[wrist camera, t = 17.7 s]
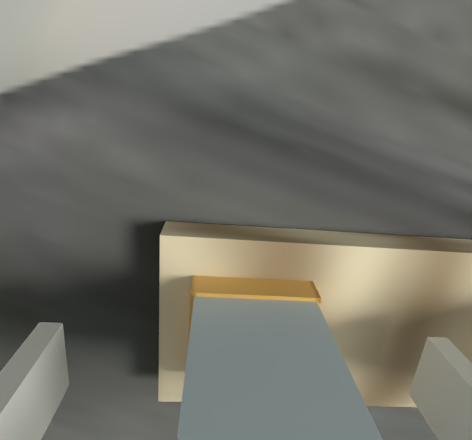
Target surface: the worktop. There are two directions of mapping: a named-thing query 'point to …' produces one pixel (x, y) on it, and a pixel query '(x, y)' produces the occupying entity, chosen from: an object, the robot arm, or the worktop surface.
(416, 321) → the pin board
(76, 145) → the worktop surface
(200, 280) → the sleeve
